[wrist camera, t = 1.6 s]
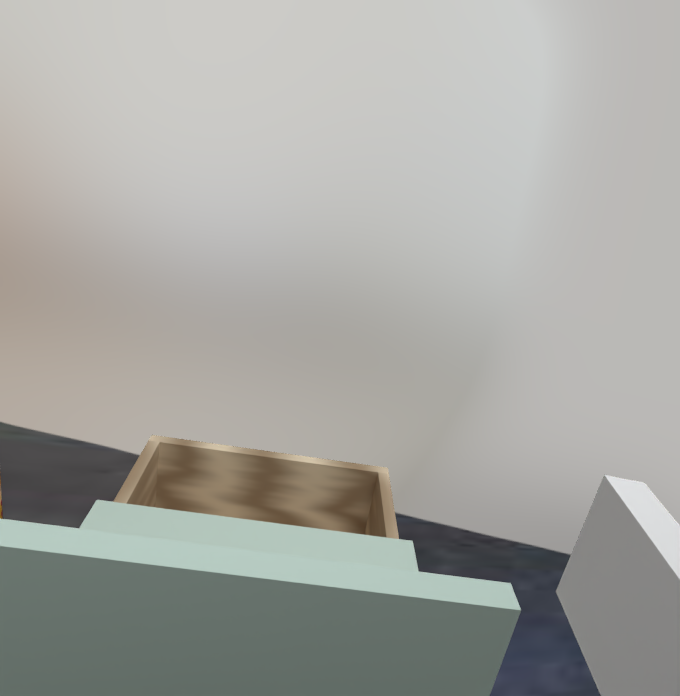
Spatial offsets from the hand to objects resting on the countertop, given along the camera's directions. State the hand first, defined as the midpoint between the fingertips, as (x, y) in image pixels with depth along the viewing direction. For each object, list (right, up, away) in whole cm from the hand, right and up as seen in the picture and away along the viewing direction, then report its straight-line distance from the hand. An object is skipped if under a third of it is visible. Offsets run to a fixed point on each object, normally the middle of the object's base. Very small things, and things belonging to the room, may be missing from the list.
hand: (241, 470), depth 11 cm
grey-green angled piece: (-4, -17, +20) cm, 27 cm away
